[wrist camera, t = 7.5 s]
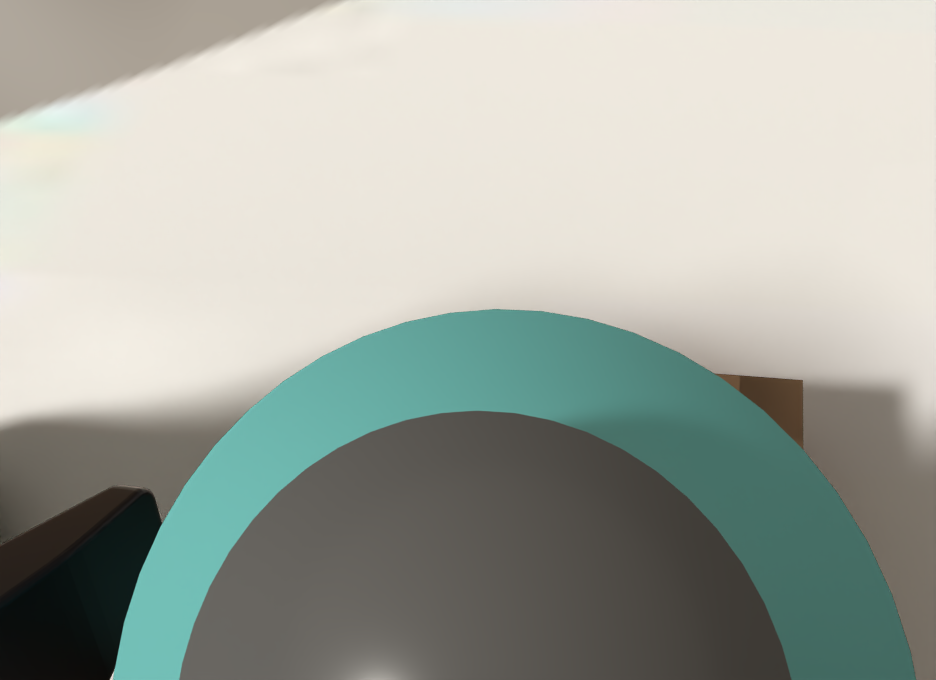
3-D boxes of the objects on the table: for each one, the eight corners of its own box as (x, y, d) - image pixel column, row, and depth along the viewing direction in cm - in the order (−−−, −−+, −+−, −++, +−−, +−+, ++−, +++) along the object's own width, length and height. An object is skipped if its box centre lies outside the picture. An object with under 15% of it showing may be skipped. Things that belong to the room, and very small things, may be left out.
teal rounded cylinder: (552, 757, 16) (449, 1763, 2) (410, 593, 17) (-148, 687, 4) (699, 601, 16) (1261, 762, 3) (551, 453, 17) (484, 109, 4)
